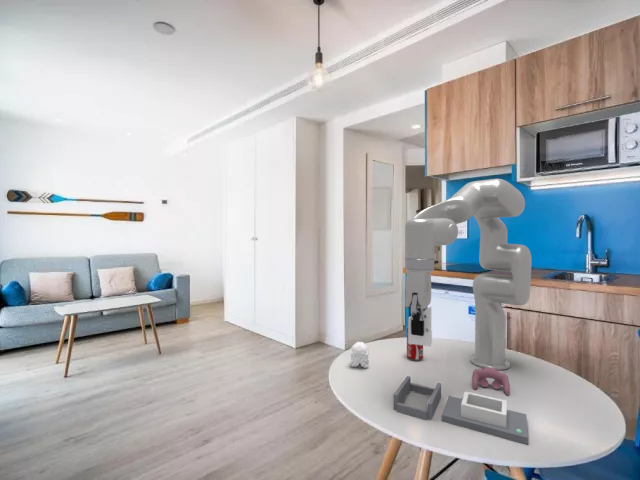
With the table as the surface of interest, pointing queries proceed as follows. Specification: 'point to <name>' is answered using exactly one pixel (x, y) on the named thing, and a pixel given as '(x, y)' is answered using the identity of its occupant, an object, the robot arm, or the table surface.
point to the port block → (486, 416)
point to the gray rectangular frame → (408, 386)
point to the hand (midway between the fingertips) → (419, 331)
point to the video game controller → (486, 372)
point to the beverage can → (414, 351)
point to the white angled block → (427, 336)
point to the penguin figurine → (359, 355)
